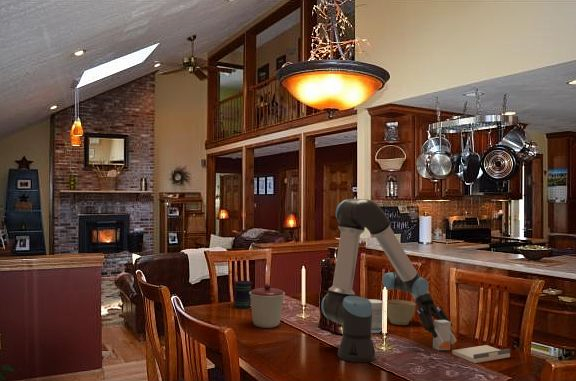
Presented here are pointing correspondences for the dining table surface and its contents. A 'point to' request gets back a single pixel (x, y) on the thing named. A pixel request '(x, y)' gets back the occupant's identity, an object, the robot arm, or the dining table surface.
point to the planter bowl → (400, 311)
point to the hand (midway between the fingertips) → (447, 343)
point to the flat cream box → (481, 353)
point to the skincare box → (442, 334)
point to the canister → (266, 306)
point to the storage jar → (242, 295)
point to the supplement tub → (376, 315)
